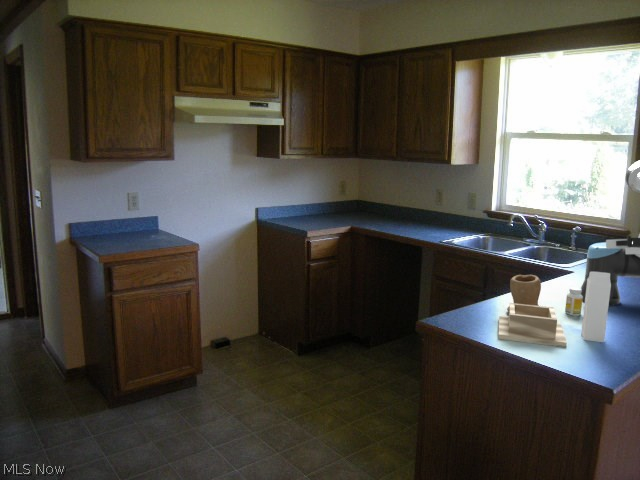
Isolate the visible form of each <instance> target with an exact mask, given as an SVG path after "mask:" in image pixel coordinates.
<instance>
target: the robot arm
mask: <svg viewBox="0 0 640 480" xmlns="http://www.w3.org/2000/svg"><path fill="white" fill-rule="evenodd" d="M625 182H626V185H627V186H628V187H629V189H631V190H632V191H634V192H635V193H638V194H640V159H639V160H637V161H635V162H633V163H632V164H631V165H630V166H629V167H628V168H627V171H626V172H625ZM590 272H602V273H610V282H611V289H610V298H609V306H618V305H620V303H621V294H620V290H619V286H618V279H619V277H623V278H624V277H626V278H635V279H636V278H638V279H640V233H639V234H638V237H631V236H629V235H628V236H627V238H619V239H618V238H617V239H614V238H613V239H606V240H605V241H604V242H596V243H593V244H591V245H589V247H588V249H587V254H586V265H585V274H584V280H583V283H582V285H581V286H580V289H582V291H581V295H582V296H583V300H582V302H584V303H585V296H586V287H587V279H588V277H589V273H590Z"/></svg>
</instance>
